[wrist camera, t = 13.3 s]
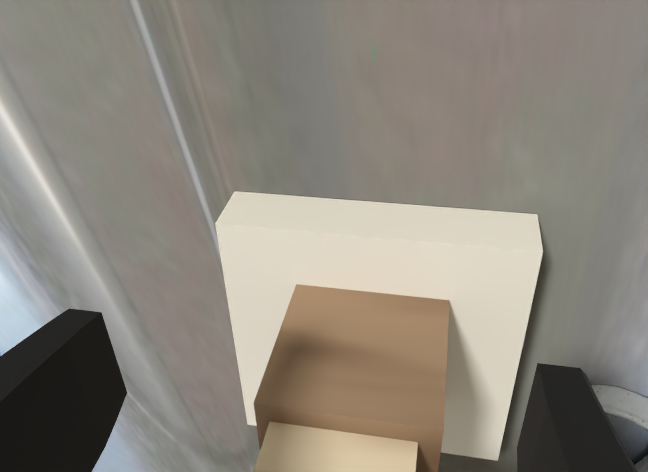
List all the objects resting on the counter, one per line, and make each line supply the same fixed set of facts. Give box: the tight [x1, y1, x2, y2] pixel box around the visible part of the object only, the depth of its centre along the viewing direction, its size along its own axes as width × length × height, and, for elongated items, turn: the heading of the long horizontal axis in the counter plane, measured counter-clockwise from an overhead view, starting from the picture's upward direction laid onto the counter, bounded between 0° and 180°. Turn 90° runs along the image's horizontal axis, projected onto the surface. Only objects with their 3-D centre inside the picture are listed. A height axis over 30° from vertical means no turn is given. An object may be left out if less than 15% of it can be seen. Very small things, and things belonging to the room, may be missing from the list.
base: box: [215, 191, 543, 461], centre depth 22 cm, size 10×10×2 cm
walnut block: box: [254, 284, 449, 472], centre depth 19 cm, size 5×5×5 cm
